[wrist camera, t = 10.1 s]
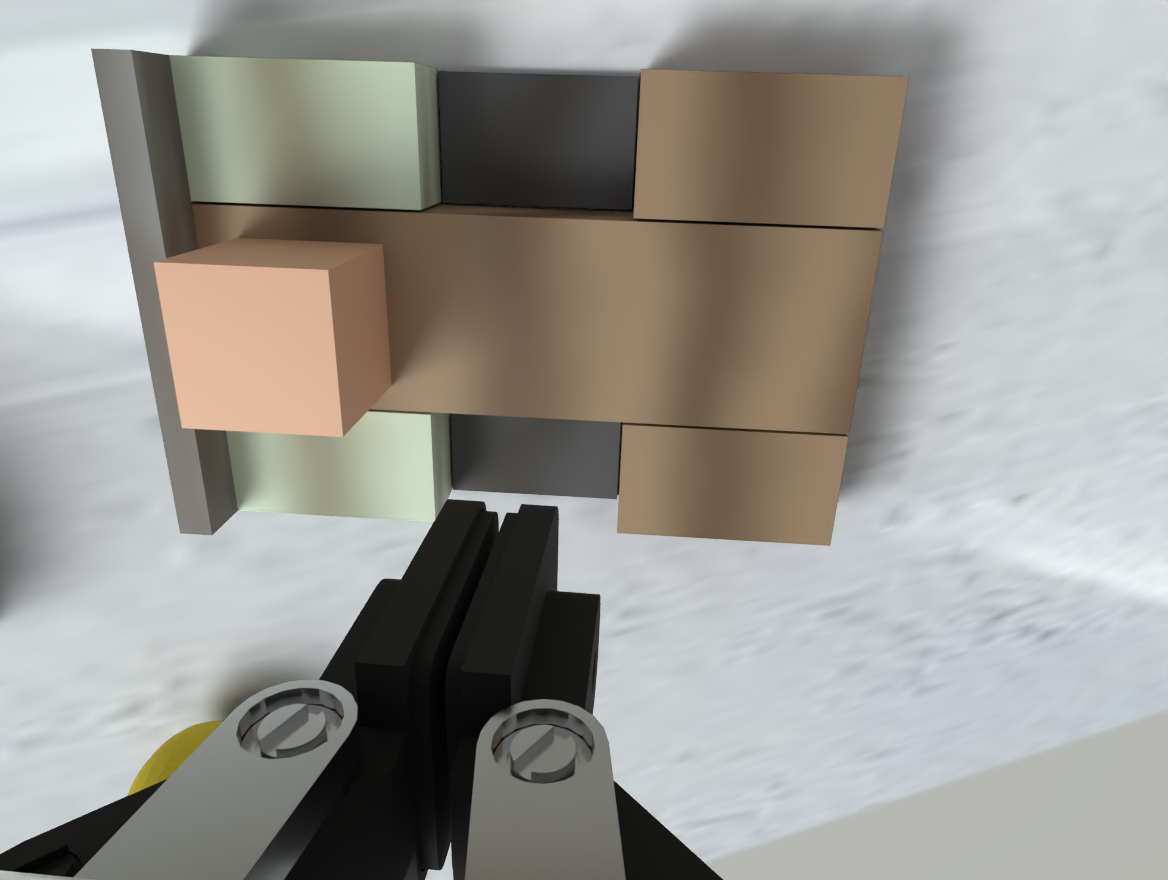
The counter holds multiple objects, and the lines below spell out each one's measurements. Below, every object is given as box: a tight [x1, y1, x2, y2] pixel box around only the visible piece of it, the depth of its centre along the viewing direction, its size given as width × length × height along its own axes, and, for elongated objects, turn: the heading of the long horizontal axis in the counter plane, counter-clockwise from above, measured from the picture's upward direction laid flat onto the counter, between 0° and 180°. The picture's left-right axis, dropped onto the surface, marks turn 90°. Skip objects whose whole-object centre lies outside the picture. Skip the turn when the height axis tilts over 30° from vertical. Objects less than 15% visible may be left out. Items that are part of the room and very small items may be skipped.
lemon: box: [128, 721, 223, 796], centre depth 35 cm, size 6×6×8 cm
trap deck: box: [91, 49, 909, 546], centre depth 28 cm, size 24×16×5 cm, turn 88°
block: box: [154, 238, 392, 437], centre depth 25 cm, size 5×5×5 cm
